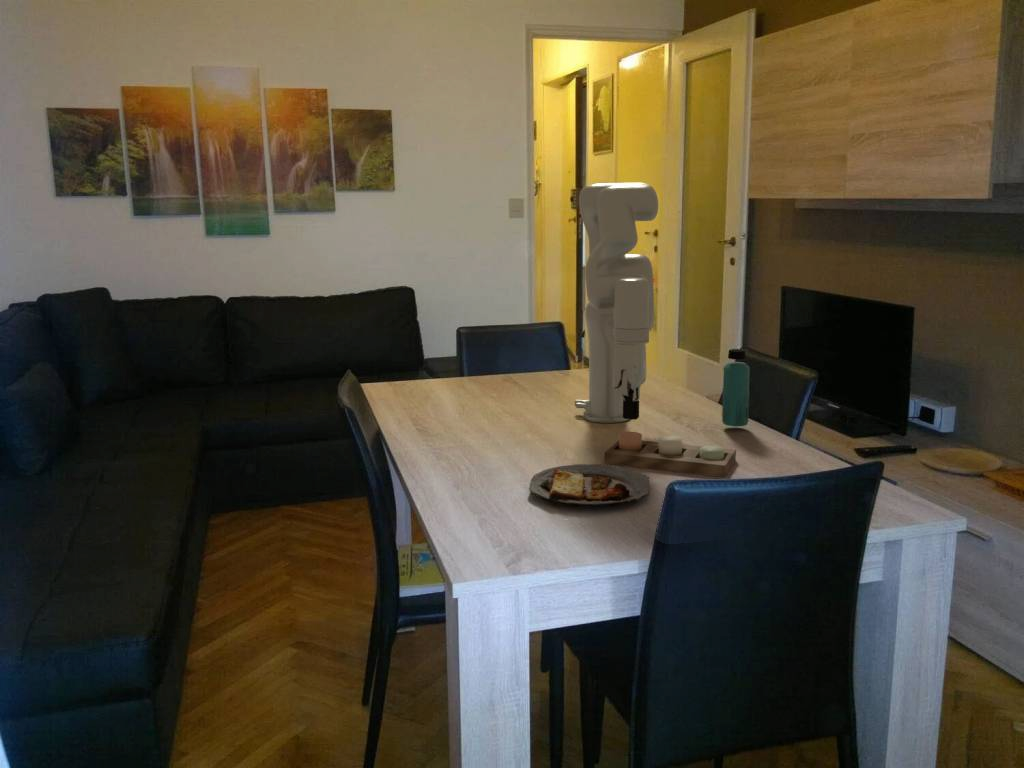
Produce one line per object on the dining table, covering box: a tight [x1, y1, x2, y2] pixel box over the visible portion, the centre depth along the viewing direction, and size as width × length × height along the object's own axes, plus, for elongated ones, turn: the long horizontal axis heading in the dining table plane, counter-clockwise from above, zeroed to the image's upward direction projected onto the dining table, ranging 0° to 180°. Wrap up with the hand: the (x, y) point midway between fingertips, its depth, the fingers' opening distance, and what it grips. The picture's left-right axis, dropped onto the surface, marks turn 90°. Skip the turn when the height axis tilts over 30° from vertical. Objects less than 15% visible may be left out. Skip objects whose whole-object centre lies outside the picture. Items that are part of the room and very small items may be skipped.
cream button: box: [658, 435, 683, 456], centre depth 186 cm, size 5×5×4 cm
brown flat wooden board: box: [603, 439, 737, 478], centre depth 187 cm, size 26×12×2 cm, turn 65°
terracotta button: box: [618, 431, 643, 452], centre depth 190 cm, size 5×5×4 cm
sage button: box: [700, 445, 725, 461], centre depth 183 cm, size 5×5×4 cm
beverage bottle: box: [721, 348, 751, 427], centre depth 210 cm, size 6×7×20 cm
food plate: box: [528, 463, 650, 507], centre depth 170 cm, size 25×23×4 cm
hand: (630, 418), depth 188 cm, fingers closed
